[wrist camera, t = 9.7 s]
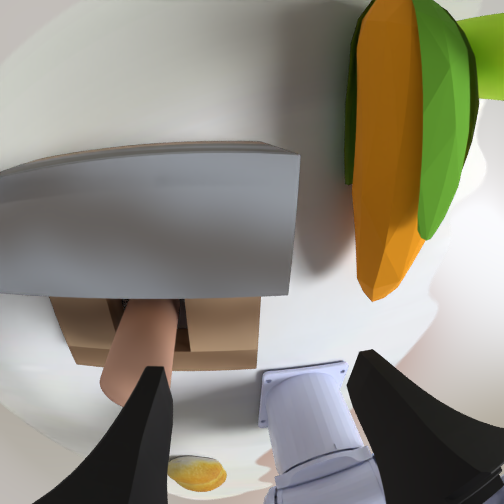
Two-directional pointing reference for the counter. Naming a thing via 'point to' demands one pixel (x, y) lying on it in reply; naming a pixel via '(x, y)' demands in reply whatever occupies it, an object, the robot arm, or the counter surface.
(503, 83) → the soap dispenser
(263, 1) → the counter surface
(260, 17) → the counter surface
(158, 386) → the robot arm
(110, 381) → the peg
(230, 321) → the socket station
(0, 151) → the counter surface
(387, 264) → the corn
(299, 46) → the counter surface
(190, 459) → the bread roll
